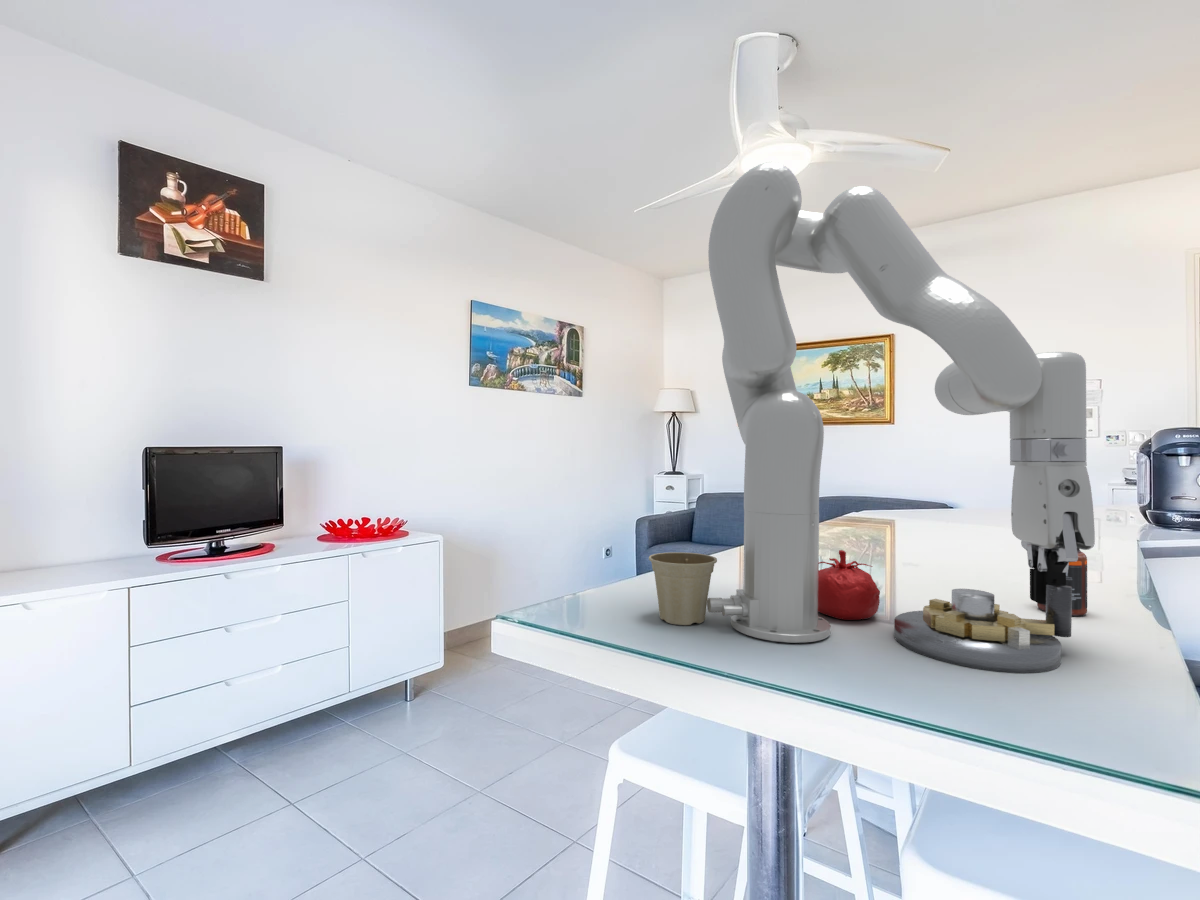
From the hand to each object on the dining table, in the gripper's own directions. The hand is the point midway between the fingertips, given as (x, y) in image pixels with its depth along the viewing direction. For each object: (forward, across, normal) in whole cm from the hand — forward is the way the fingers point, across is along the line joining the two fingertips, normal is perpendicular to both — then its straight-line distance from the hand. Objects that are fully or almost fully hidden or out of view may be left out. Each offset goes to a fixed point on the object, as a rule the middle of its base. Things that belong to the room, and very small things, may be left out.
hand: (1047, 602), depth 72 cm
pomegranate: (+5, +8, +22) cm, 24 cm away
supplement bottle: (+6, +18, -10) cm, 21 cm away
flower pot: (+5, -1, +45) cm, 45 cm away
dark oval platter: (+5, -3, +10) cm, 11 cm away
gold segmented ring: (+3, -3, +7) cm, 8 cm away
